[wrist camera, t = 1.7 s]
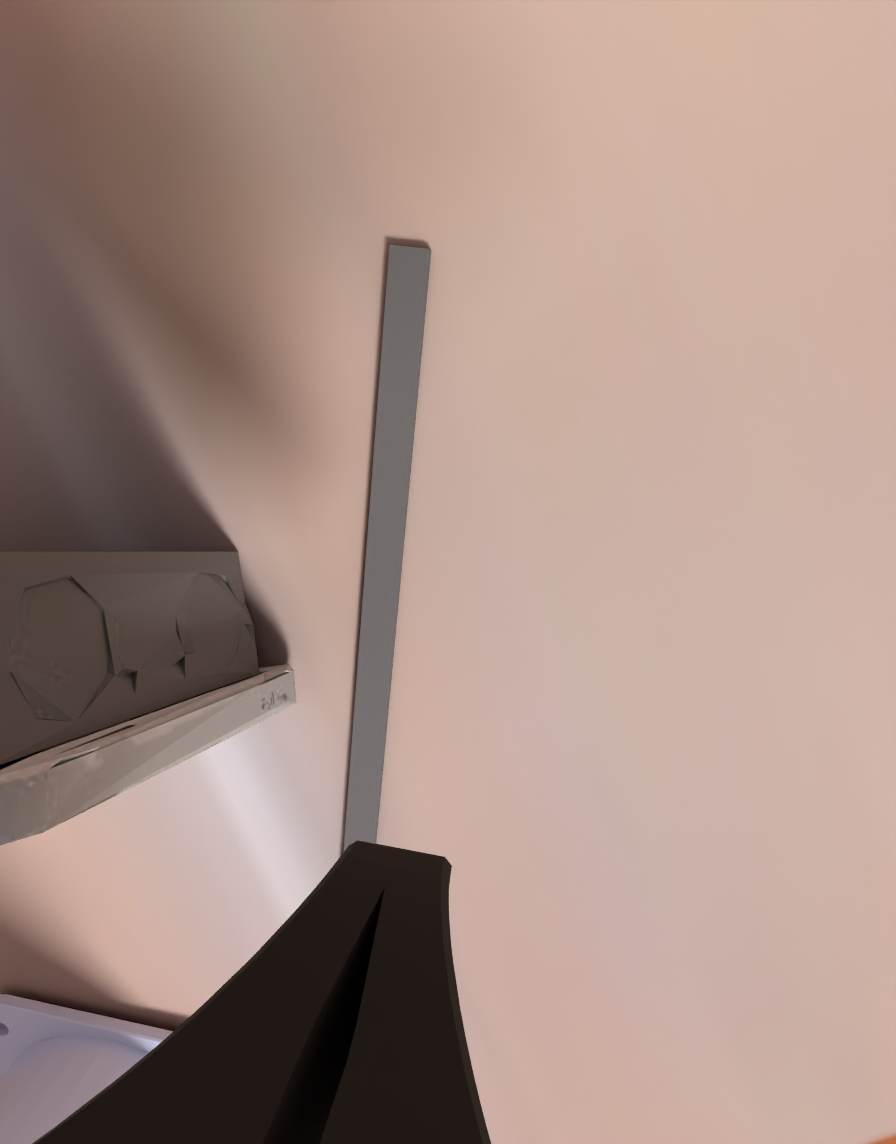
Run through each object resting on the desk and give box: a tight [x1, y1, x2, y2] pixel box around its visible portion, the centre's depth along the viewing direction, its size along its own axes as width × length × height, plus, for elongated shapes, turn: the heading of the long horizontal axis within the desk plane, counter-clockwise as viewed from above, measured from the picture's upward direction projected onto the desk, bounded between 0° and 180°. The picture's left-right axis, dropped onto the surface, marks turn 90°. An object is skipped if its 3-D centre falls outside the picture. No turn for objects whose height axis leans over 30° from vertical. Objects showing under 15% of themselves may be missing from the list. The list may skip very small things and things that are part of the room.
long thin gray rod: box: [343, 245, 431, 853], centre depth 17 cm, size 18×1×1 cm, turn 174°
